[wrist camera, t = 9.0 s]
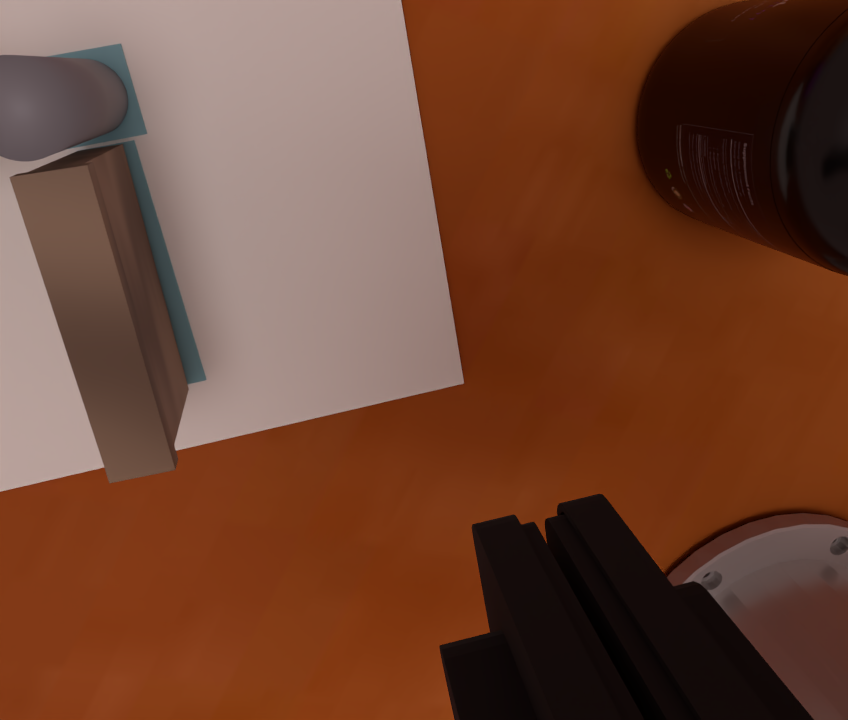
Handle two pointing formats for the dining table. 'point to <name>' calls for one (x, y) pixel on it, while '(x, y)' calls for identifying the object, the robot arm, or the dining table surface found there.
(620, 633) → the robot arm
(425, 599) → the dining table surface
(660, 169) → the supplement bottle
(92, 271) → the fence panel
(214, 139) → the fence base
